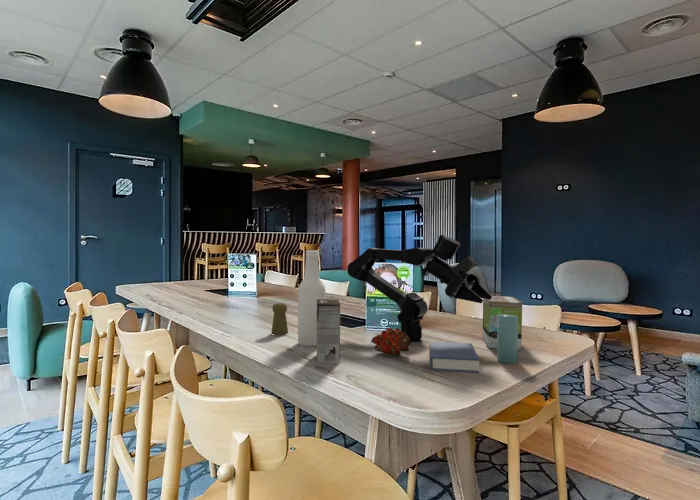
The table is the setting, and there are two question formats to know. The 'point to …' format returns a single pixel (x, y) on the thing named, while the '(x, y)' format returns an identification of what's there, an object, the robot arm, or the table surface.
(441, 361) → the book
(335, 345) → the coffee box
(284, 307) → the cork
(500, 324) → the teal smooth upright cylinder
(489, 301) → the tea box
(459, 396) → the table surface
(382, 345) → the dragon fruit
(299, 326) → the alcohol
